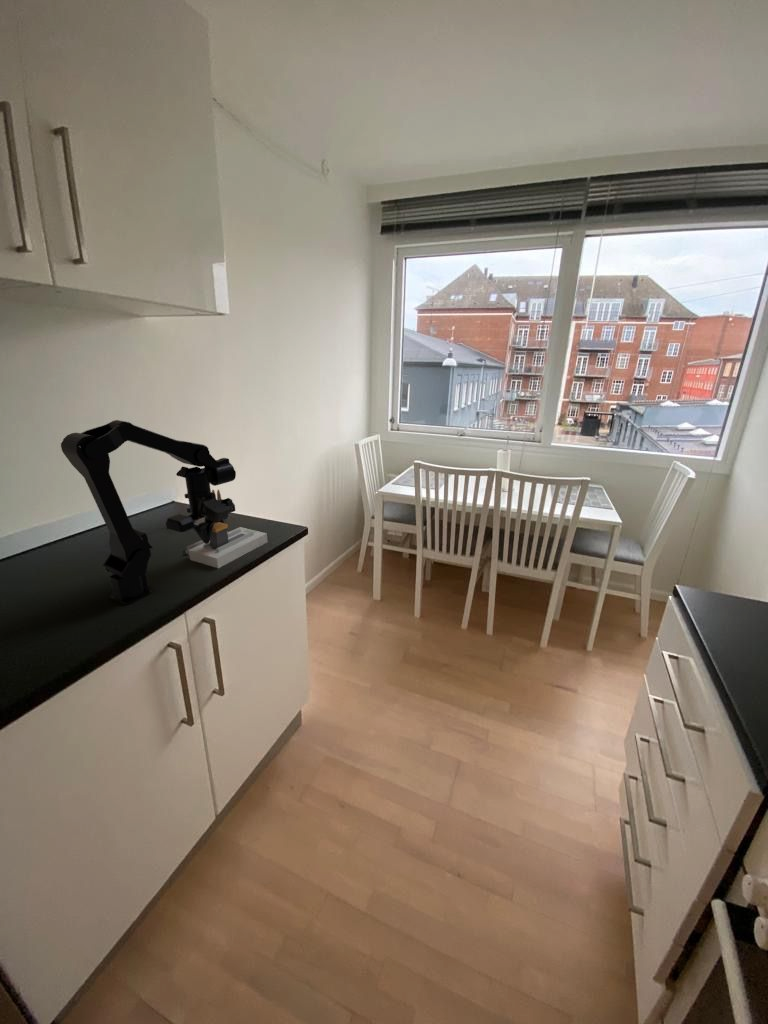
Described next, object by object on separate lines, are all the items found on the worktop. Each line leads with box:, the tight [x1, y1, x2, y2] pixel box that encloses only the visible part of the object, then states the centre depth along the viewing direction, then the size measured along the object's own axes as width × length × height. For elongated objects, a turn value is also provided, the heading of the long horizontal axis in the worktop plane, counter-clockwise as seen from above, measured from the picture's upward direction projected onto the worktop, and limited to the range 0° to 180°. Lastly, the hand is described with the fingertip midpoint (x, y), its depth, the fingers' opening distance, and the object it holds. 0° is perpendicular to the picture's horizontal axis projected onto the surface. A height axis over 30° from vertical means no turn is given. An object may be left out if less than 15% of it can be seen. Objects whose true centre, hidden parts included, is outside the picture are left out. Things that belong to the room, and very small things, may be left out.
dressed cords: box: [184, 530, 230, 555], centre depth 130 cm, size 17×3×1 cm, turn 154°
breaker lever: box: [210, 522, 229, 548], centre depth 120 cm, size 4×3×6 cm
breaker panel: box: [188, 526, 268, 569], centre depth 125 cm, size 20×11×4 cm, turn 154°
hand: (206, 543), depth 117 cm, fingers closed
